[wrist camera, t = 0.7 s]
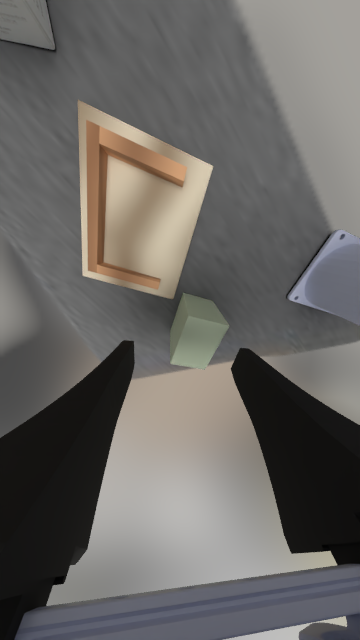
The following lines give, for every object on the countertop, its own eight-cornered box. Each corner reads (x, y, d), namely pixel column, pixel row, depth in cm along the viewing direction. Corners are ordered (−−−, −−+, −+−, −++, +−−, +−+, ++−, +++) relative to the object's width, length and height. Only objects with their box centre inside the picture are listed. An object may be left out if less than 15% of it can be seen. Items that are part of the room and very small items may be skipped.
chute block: (212, 300, 18) (229, 325, 13) (196, 336, 21) (204, 369, 16) (183, 292, 17) (188, 315, 12) (170, 331, 20) (170, 363, 15)
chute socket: (211, 168, 12) (218, 157, 10) (172, 298, 17) (173, 304, 16) (81, 105, 10) (63, 77, 8) (85, 274, 15) (74, 279, 14)
